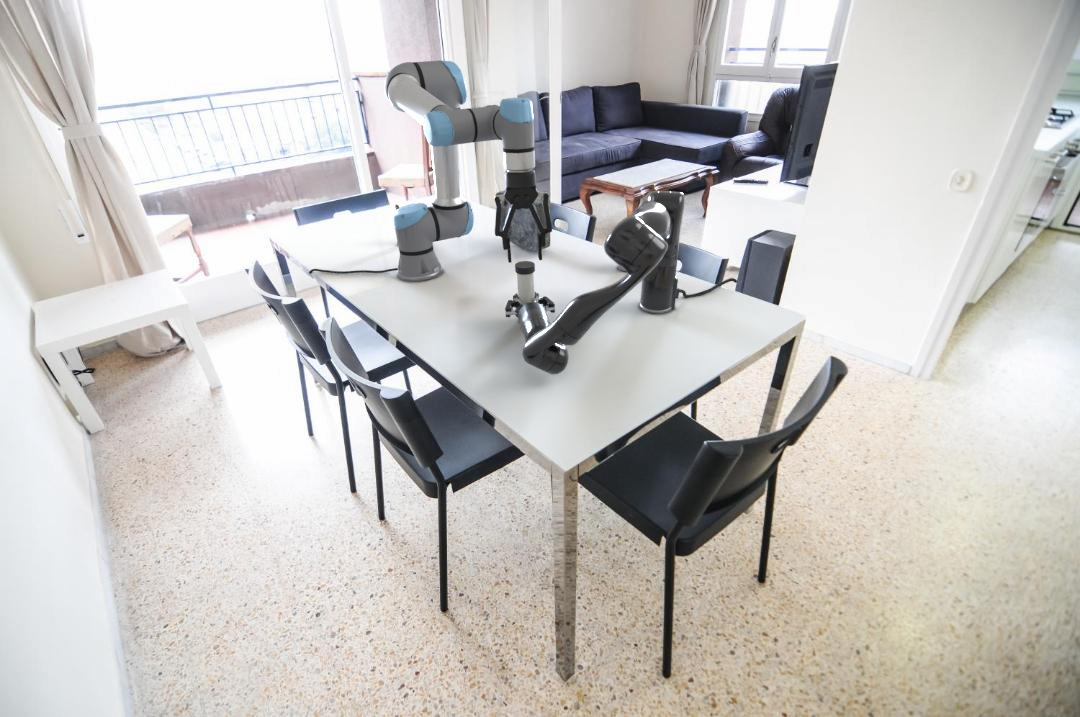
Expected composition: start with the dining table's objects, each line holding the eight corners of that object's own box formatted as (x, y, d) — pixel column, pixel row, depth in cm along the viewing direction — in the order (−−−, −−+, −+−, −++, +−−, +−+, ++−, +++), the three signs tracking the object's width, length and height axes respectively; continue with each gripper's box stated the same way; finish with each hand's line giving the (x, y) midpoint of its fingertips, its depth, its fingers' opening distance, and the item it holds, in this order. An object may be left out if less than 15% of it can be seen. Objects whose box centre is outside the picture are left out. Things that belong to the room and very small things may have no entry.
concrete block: (555, 253, 189) (554, 199, 179) (537, 258, 185) (534, 204, 174) (517, 236, 208) (514, 187, 197) (499, 241, 203) (495, 191, 193)
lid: (516, 275, 132) (515, 268, 131) (514, 268, 136) (513, 261, 135) (536, 273, 132) (536, 267, 131) (533, 266, 137) (533, 260, 136)
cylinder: (520, 325, 140) (517, 269, 131) (519, 318, 144) (515, 263, 135) (536, 323, 141) (534, 268, 132) (534, 316, 144) (532, 262, 136)
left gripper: (559, 164, 125) (560, 252, 136) (477, 169, 123) (486, 257, 135) (563, 169, 118) (564, 261, 130) (478, 175, 117) (487, 267, 129)
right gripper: (561, 306, 126) (549, 280, 140) (505, 312, 124) (499, 285, 138) (562, 332, 130) (550, 304, 144) (507, 338, 128) (501, 310, 142)
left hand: (524, 259), depth 132 cm, fingers open, 7 cm apart
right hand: (525, 295), depth 141 cm, fingers closed on cylinder, 4 cm apart
